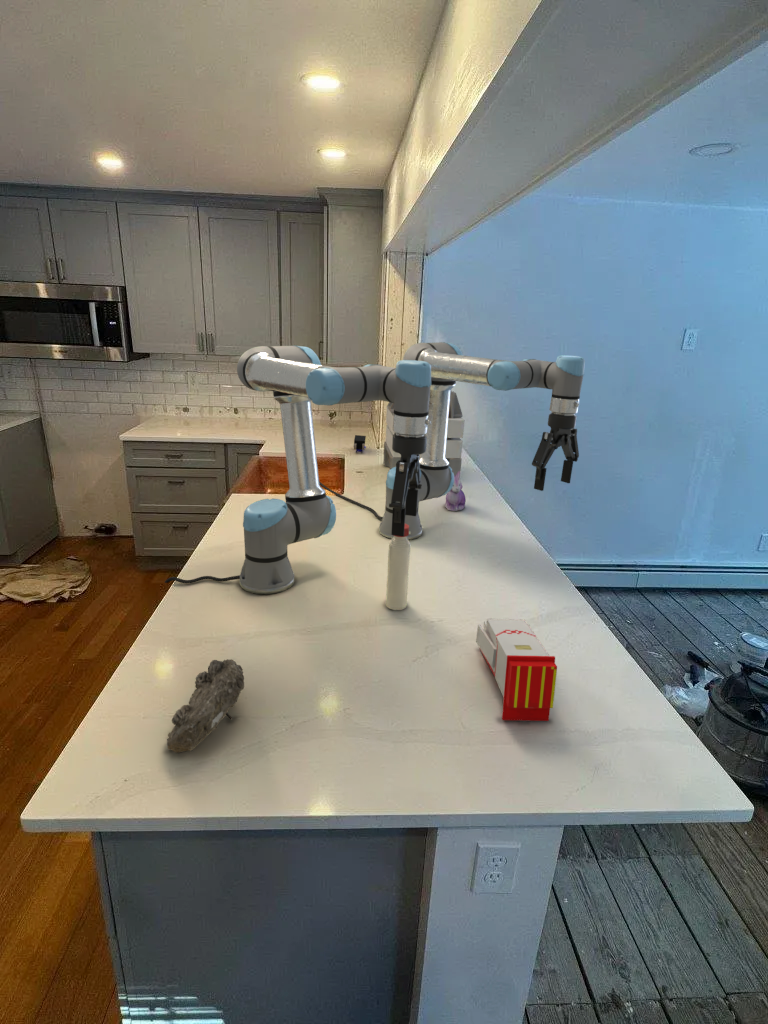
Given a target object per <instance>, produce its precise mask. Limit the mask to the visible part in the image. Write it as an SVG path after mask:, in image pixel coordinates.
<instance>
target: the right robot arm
mask: <svg viewBox="0 0 768 1024" xmlns="http://www.w3.org/2000/svg"><path fill="white" fill-rule="evenodd" d="M402 360H416V361H425V362H428V363H429V364H430V366H431V382H432V383H431V389H430V400H429V414H428V418H427V420H430V422H431V423H430V425H428V426H427V433H426V434H424V435H426V437H427V444H426V451H425V453H423V454H421V457H420V458H419V459H420V481H421V482H420V484H421V485H422V488H421V489H417V490H418V500H417V515H416V516H410V515H405V524H407V525H409V535H408V536H406V537H407V539H408V540H409V541H410V540H415V539H418V538H420V537H421V536H422V535H423V525H422V524H421V518H420V515H419V507H420V506H419V505H420V502H423V501H427V500H431V499H437V498H440V497H443V496H446V495H447V493H449V491H450V490H451V489H452V487H453V484H454V473H452V469H451V467H450V466H449V462H448V461H447V459H446V458H445V453H446V441H447V428H448V416H449V404H450V392H451V391H452V389H453V388H454V387H455V386H456V384H457V382H461V383H465V384H473V385H479V386H487V387H491V388H492V389H494V390H496V391H503V392H504V391H511V390H520V389H532V388H533V389H534V388H539V389H546V390H551V398H550V404H549V413H548V418H547V419H548V420H547V426H548V427H549V428H550V431H549V432H548V431H543V432H542V435H541V440H540V442H539V445H538V447H537V449H536V452H535V454H534V457H533V460H532V461H531V466H533V467H535V475H534V477H535V478H534V485H533V489H534V490H537V491H539V492H543V491H544V489H545V484H546V483H545V482H546V476H547V468H546V466H547V465H548V463H549V461H550V459H551V457H552V456H553V454H554V453H555V451H556V450H557V449H558V448H560V447H561V449H562V452H563V455H564V458H565V459H563V463H562V468H561V469H562V470H561V475H560V482H562V483H566V484H571V478H572V472H573V466H574V463H576V462H578V461H579V457H580V453H579V444H578V428H576V423H577V419H578V416H577V414H578V412H579V411H578V410H579V406H580V397H581V391H582V385H583V380H584V376H585V365H586V360H585V358H584V357H582V356H578V355H566V354H565V355H564V354H563V355H558V356H557V357H556V360H555V361H549V360H541V359H536V358H524V359H521V360H506V359H505V360H504V359H503V360H502V359H496V358H487V357H479V356H471V355H464V354H463V352H462V350H461V349H460V347H459V346H457V345H456V344H455V343H451V342H445V341H443V342H442V341H441V342H440V341H439V342H438V341H437V342H417V343H414V344H412V345H411V346H409V347H408V348H407V350H406V351H405V353H404V355H403V358H402ZM395 473H396V467H394V468H392V469H390V468H389V470H388V472H387V474H386V479H385V504H384V505H385V507H384V508H385V509H384V513H383V515H382V516H380V515H379V514H378V512H377V511H376V510H375V509H374V508H372V507H370V506H368V505H365V504H362V503H361V502H358V501H356V500H354V499H352V498H349V497H347V496H345V495H342V494H340V493H338V492H336V491H334V490H333V489H331V488H329V487H327V486H326V485H324V483H322V482H321V481H319V484H320V486H321V487H322V488H323V489H324V490H325V491H326V490H327V491H328V492H329V493H331V494H333V495H335V496H337V497H339V498H341V499H343V500H345V501H348V502H350V503H352V504H354V505H357V506H359V507H361V508H364V509H366V510H368V511H370V512H372V513H373V514H374V516H375V517H376V518H377V519H379V520H381V522H379V527H378V533H379V534H380V535H381V536H382V537H385V538H387V539H389V540H391V539H392V538H393V537H394V536H393V535H391V534H392V514H393V508H391V507H389V503H390V504H391V499H392V493H393V486H394V480H395ZM408 489H410V488H408ZM397 503H400V502H397ZM405 506H406V502H405Z"/></svg>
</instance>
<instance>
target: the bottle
mask: <svg viewBox="0 0 768 1024" xmlns="http://www.w3.org/2000/svg"><path fill="white" fill-rule="evenodd" d="M387 550H388V552H387V569H386V570H387V572H386V592H385V606H386V607H387V608H388V609H390V610H393V611H402V610H404V609H406V608H407V605H408V591H409V575H410V559H411V558H410V557H411V542H410V540H408V539H407V537H396V536H394V537H393V538H392V539H389V542H388V549H387Z"/></svg>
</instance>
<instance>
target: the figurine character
mask: <svg viewBox="0 0 768 1024" xmlns="http://www.w3.org/2000/svg"><path fill="white" fill-rule="evenodd" d="M366 438H367V436H366V435H360V434H359V435H357V434H354V439H353V451H355V453H356V454H358V453H359V452H360V454H363V452H364V451H365V449H366V448H367V447H366Z"/></svg>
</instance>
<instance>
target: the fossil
mask: <svg viewBox="0 0 768 1024" xmlns="http://www.w3.org/2000/svg"><path fill="white" fill-rule="evenodd" d="M243 670H244V669H243V667H242V665H240V664H237V662H236V661H235V660H234V659H232V658H231V659H227V658H226V659H224V660H223V661H222V660H217V659H212V660H211V661H210V663H209V665H208V666H207V671H201V672H199V673H198V674H197V675H196V676H195V680H194V684H195V685H194V687H195V689H194V690H193V693H192V694H191V697H190V698H189V700H188V704H184V705H182V706H181V707H180V709H177V710H176V711H175V713H174V715H173V716H172V718H171V723H172V724H173V727H172V730H171V731H170V732H168V734H167V738H166V741H167V742H166V745H167V749H168V750H169V751H173V752H174V753H176V754H178V753H182V752H188V751H189V752H192V751H193V750H195V748H196V747H197V746H199V744H200V743H201V742H203V741H204V740H205V739H206V738H207V737H208V736H209V735H210V734H211V733H212V732H214V730H215V729H217V727H218V726H219V724H220V722H221V721H222V720H223V719H224V718H225V716H226V717H227V719H229V720H233V717H232V715H230V714H229V710H230V709H231V708H234V706H235V704H236V703H237V702H238V699H239V697H240V695H241V693H242V691H243V690H245V689H244V688H245V675H244V671H243Z"/></svg>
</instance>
